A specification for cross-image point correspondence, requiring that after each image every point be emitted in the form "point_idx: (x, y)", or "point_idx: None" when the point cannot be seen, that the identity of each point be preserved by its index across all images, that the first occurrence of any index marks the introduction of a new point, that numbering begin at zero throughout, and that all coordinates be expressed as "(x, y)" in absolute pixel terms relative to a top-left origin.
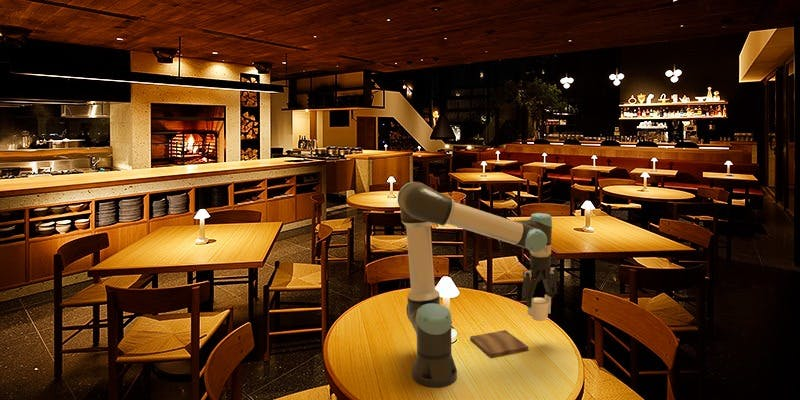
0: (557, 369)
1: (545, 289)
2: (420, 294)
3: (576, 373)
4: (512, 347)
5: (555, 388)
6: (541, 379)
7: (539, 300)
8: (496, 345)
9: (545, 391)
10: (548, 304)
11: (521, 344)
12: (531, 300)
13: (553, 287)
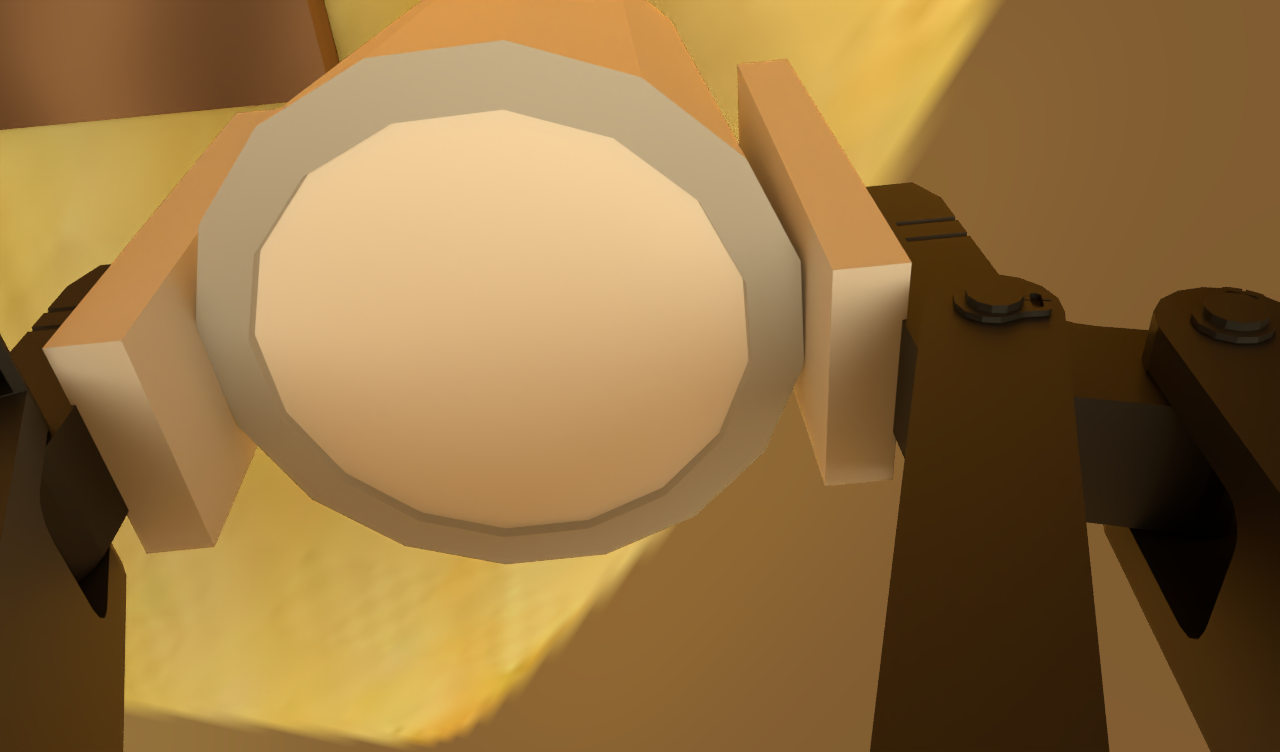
0: None
1: (909, 431)
2: None
3: (604, 576)
4: (86, 61)
5: (324, 690)
6: (262, 590)
7: (519, 336)
8: None
9: (233, 704)
10: None
11: (251, 6)
12: (143, 500)
13: (1208, 676)
